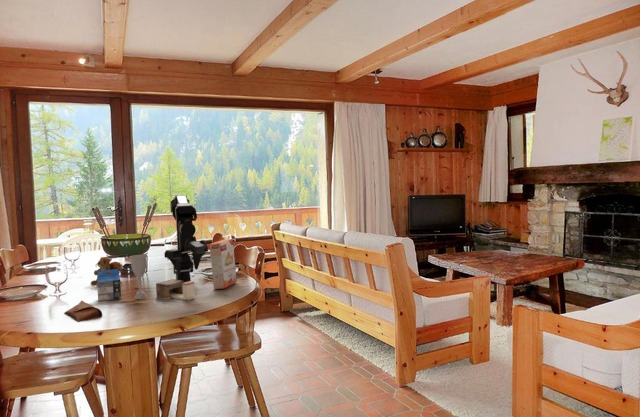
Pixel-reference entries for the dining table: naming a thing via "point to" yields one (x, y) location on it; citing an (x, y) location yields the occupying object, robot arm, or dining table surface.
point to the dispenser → (169, 288)
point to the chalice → (139, 272)
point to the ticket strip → (185, 292)
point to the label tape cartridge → (108, 285)
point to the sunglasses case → (84, 312)
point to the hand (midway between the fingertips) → (187, 271)
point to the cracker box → (223, 264)
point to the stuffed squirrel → (106, 266)
